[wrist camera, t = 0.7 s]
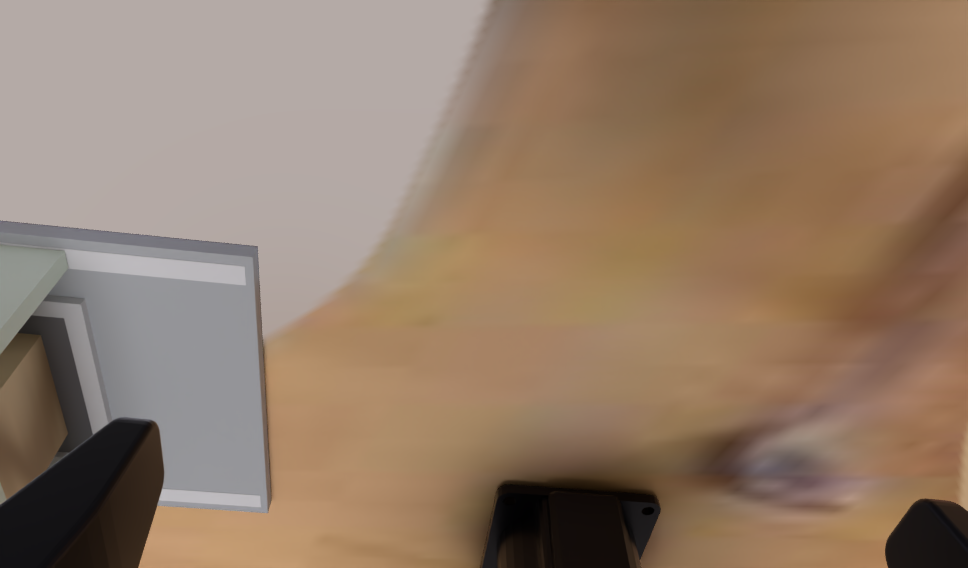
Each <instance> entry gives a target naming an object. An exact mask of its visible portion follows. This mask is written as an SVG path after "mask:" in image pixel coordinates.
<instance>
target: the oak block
mask: <svg viewBox="0 0 968 568" xmlns="http://www.w3.org/2000/svg"><path fill="white" fill-rule="evenodd" d="M67 435H68V431H67V428H66V424H65V421H64V417H63V413H62V410H61V406H60V403H59V399H58V395H57V392H56V388H55V385H54V381H53V377H52V374H51V370H50V367H49V363H48V359H47V356H46V352H45V349H44V345H43V341H42V338H41V335H34V334H23V333H17V334H16V335H15V337H14V338H13V339H12V341H11V342H10V343H9V344H8V346H7V347H6V348H5V349H4V351H3V352H2V353H1V355H0V483H1V486H2V488H3V491H4V494H5V496H6V499H8V498H10V497H11V496H12V495H14V494H15V493H16V492H18V491H19V490H20V489H22V488H23V487H24V486H26V485H27V484H28V483H30V482H31V481H32V480H34V479H35V478H36V477H37V476H39V475H40V474H41V473H43V472H44V471H45V470H47V468H48V467H49V465H50V463H51V462H52V460H53V458H54V457H55V455H56V453H57V451H58V450H59V448H60V446H61V445H62V443H63V441H64V440H65V438H66V436H67Z"/></svg>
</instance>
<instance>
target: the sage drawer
mask: <svg viewBox="0 0 968 568" xmlns="http://www.w3.org/2000/svg"><path fill="white" fill-rule="evenodd" d="M67 269H68V264H67V259H66V255H65V251H59V250H49V249H38V248H28V247H18V246H7V245H0V355H1V353H2V352H3V351H4V349H5V348H6V347H7V346H8V344H9V343H10V342H11V341H12V339H13V338H14V337H15V335H16V334H17V333H18V332H19V330H20V329H21V328H22V327H23V325H24V324H25V323H26V321H27V320H28V319H29V318H30V316H31V315H32V314H33V313H34V311H35V310H36V309H37V307H38V306H39V305H40V304H41V302H42V301H43V300H44V298H45V297H46V296H47V295H48V293H49V292H50V291H51V290H52V288H53V287H54V286H55V284H56V283H57V282H58V281H59V279H60V278H61V277H62V276H63V274H64V273H65V272H66V270H67ZM6 500H7V499H6V496H5V494H4V491H3V488H2V486H1V483H0V504H2V503H3V502H4V501H6Z"/></svg>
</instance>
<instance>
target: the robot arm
mask: <svg viewBox="0 0 968 568" xmlns="http://www.w3.org/2000/svg"><path fill="white" fill-rule="evenodd" d="M163 483H164V462H163V454H162V446H161V437H160V430H159V427H158V425H157V423H156V422H155V421H153V420H150V419H140V418H130V417H119V418H116V419H114V420H112V421H111V422H109V423H108V424H107V425H105V426H104V427H103V428H101V429H100V430H99V431H97V432H96V433H95V434H93V435H92V436H91V437H89V438H88V439H87V440H85V441H84V442H83V443H81V444H80V445H79V446H77V447H76V448H75V449H73V450H72V451H71V452H69V453H68V454H67V455H65V456H64V457H63V458H61V459H60V460H59V461H57V462H56V463H55V464H53V465H52V466H51V467H49V468H48V469H47V470H45V471H44V472H43V473H41V474H40V475H39V476H37V477H36V478H35V479H34V480H32V481H31V482H30V483H28V484H27V485H26V486H24V487H23V488H22V489H20V490H19V491H18V492H16V493H15V494H14V495H12V496H11V497H10V498H8V499H7V500H6V501H4V502H3V503H2V504H0V568H138V566H139V563H140V560H141V557H142V553H143V550H144V547H145V544H146V540H147V537H148V534H149V531H150V527H151V524H152V521H153V518H154V514H155V511H156V508H157V505H158V501H159V498H160V495H161V492H162V488H163ZM660 510H661V508H660V504H659V500H658V499H657V497H655V496H653V495H647V494H634V493H620V492H607V491H593V490H580V489H566V488H552V487H539V486H525V485H512V484H510V485H504V486H501V487H500V488H499V489H498V490H497V492H496V497H495V501H494V506H493V511H492V515H491V520H490V524H489V529H488V534H487V538H486V543H485V547H484V552H483V557H482V561H481V566H480V568H641V565H640V559H641V556H642V554H643V552H644V549H645V547H646V545H647V542H648V540H649V537H650V535H651V533H652V530H653V528H654V526H655V523H656V521H657V519H658V516H659V514H660ZM885 556H886V561H887V565H888V568H968V511H967V510H965V509H964V508H963V507H961V506H960V505H958V504H956V503H954V502H951V501H945V500H935V499H920V500H918V501H916V502H915V503H914V504H913V505H912V506H911V507H910V509H909V510H908V511H907V513H906V514H905V515H904V517H903V518H902V519H901V521H900V522H899V524H898V525H897V526H896V528H895V529H894V530H893V532H892V533H891V534H890V536H889V537H888V539H887V542H886V547H885Z"/></svg>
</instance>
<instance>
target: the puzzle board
mask: <svg viewBox="0 0 968 568" xmlns="http://www.w3.org/2000/svg"><path fill="white" fill-rule="evenodd" d="M0 245H7V246H18V247H28V248H38V249H49V250H59V251H65V255H66V259H67V264H68V269H67V270H66V272H65V273H64V274H63V276H62V277H61V278H60V279H59V281H58V282H57V283H56V284H55V286H54V287H53V288H52V290H51V291H50V292H49V293H48V295H47V296H46V297H45V298H44V300H43V301H42V302H41V304H40V305H39V306H38V307H37V309H36V310H35V311H34V313H33V314H32V315H31V316H30V318H29V319H28V320H27V321H26V323H25V324H24V325H23V327H22V328H21V329H20V330H19V332H18V333H23V334H34V335H41V338H42V341H43V345H44V349H45V352H46V356H47V359H48V363H49V367H50V370H51V374H52V377H53V381H54V385H55V388H56V392H57V395H58V399H59V403H60V406H61V410H62V413H63V417H64V421H65V424H66V428H67V431H68V435H67V436H66V438H65V440H64V441H63V443H62V445H61V446H60V448H59V450H58V451H57V453H56V455H55V457H54V458H53V460H52V462H51V463H50V465H49V467H51V466H52V465H53V464H55V463H56V462H57V461H59V460H60V459H61V458H63V457H64V456H65V455H67V454H68V453H69V452H71V451H72V450H73V449H75V448H76V447H77V446H79V445H80V444H81V443H83V442H84V441H85V440H87V439H88V438H89V437H91V436H92V435H93V434H95V433H96V432H97V431H99V430H100V429H101V428H103V427H104V426H105V425H107V424H108V423H109V422H111V421H112V420H114V419H116V418H119V417H130V418H140V419H150V420H153V421H155V422H156V423H157V425H158V427H159V430H160V437H161V446H162V454H163V462H164V483H163V488H162V492H161V495H160V498H159V501H158V505H157V506H171V507H186V508H200V509H215V510H230V511H244V512H259V513H268V511H269V507H270V503H271V487H270V468H269V450H268V431H267V413H266V394H265V376H264V357H263V339H262V320H261V302H260V285H259V265H258V247H257V246H249V245H239V244H229V243H219V242H209V241H199V240H189V239H188V240H187V239H179V238H168V237H158V236H148V235H139V234H128V233H118V232H108V231H98V230H88V229H78V228H67V227H58V226H48V225H38V224H28V223H18V222H8V221H0ZM49 467H48V468H49ZM48 468H47V469H48Z"/></svg>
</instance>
